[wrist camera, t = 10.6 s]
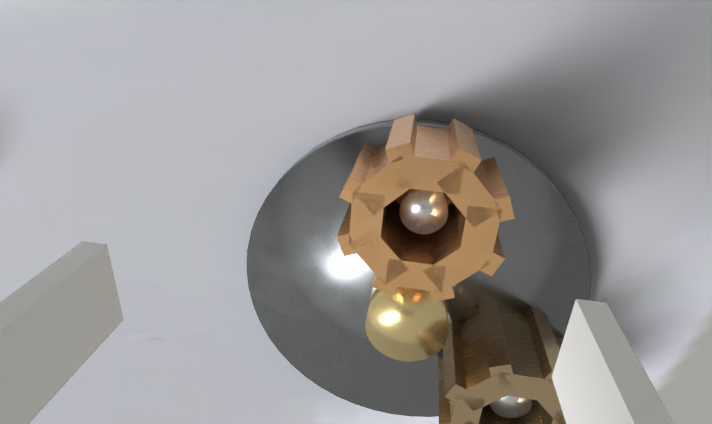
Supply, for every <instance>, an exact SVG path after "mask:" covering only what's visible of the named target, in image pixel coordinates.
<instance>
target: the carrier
mask: <svg viewBox="0 0 712 424" xmlns="http://www.w3.org/2000/svg"><path fill="white" fill-rule="evenodd" d="M393 122H394V121H383V122H379V123H374V124H370V125H365V126H361V127H358V128H355V129H352V130H350V131H347V132H344V133H341V134H339V135H337V136H335V137H333V138H331V139H329V140H327V141H325V142H324V143H322V144H320V145H318V146H317V147H315V148H314V149H313V150H311V151H310V152H308V153H307V154H306V155H304V156H303V157H302V158H300V159H299V160H298V161H297V162H296V163H295V164H294V165H293V166H292V167H291V168H290V169H289V170H288V171H287V172H286V173H285V174H284V176H283V177H282V178H281V179H280V180H279V182H278V183H277V184H276V185H275V187H274V188H273V189H272V191H271V192H270V193H269V195H268V196H267V198H266V199H265V201H264V203H263V205H262V207H261V209H260V210H259V212H258V214H257V217H256V220H255V222H254V225H253V228H252V231H251V235H250V240H249V245H248V250H247V276H248V286H249V290H250V294H251V298H252V302H253V305H254V308H255V310H256V313H257V315H258V318H259V320H260V322H261V324H262V326H263V328H264V329H265V331H266V333H267V335H268V336H269V338H270V339H271V341H272V342H273V343H274V345H275V346H276V347H277V349H278V350H279V351H280V353H281V354H282V355H283V356H284V357H285V358H286V359H287V360H288V361H289V362H290V363H291V364H292V365H293V366H294V367H295V368H296V369H297V370H299V371H300V372H301V373H302V374H303V375H304V376H306V377H307V378H308V379H310V380H311V381H313V382H314V383H316V384H317V385H318V386H320V387H321V388H323V389H325V390H327V391H329V392H330V393H332V394H334V395H336V396H338V397H340V398H342V399H345V400H347V401H349V402H352V403H354V404H357V405H360V406H363V407H366V408H369V409H372V410H377V411H381V412H386V413H390V414H397V415H406V416H424V417H433V416H439V424H566V421H565V418H564V415H563V412H562V408H561V405H560V402H559V399H558V396H557V393H556V389H555V386H554V383H553V380H552V374H553V371H554V367H555V364H556V361H557V358H558V355H559V351H560V348H561V345H562V342H563V339H564V335H565V332H566V329H567V326H568V323H569V319H570V316H571V313H572V310H573V306H574V303H575V300H576V299H581V300H589V293H590V282H591V273H590V260H589V254H588V250H587V246H586V242H585V238H584V235H583V233H582V230H581V228H580V226H579V223H578V221H577V219H576V216H575V215H574V213H573V212H572V210H571V208H570V207H569V205H568V204H567V202H566V201H565V199H564V197H563V196H562V194H561V193H560V191H559V190H558V188H557V187H556V186H555V185H554V184H553V182H552V181H551V180H550V179H549V178H548V177H547V176H546V174H545V173H544V172H543V171H542V170H541V169H540V168H539V167H537V166H536V165H535V164H534V163H533V162H532V161H530V160H529V159H528V158H527V157H526V156H525V155H523V154H522V153H520V152H518V151H517V150H515V149H514V148H512V147H511V146H509V145H508V144H506V143H504V142H502V141H500V140H498V139H496V138H494V137H492V136H489V135H487V134H485V133H483V132H480V131H477V130H474V129H472V131H473V134H474V137H475V140H476V144H477V147H478V150H479V153H480V156H481V159H482V160H485V159H489V158H493V157H494V158H495V160H496V163H497V165H498V168H499V170H500V173H501V175H502V178H503V180H504V183H505V185H506V188H507V190H508V193H509V195H510V199H511V204H512V208H513V213H514V218H515V219H511V220H507V221H502V222H500V223H499V227H498V235H499V239H500V242H501V246H502V249H503V253H504V256H505V260H504V261H503V262H502V264H501V265H500V266H499V268H498V269H497V270H496V271H495V273H494V274H493V275H492V277H491V276H489V275H488V274H486V273H484V272H482V271H480V270H479V271H477V272H476V273H474V274H472V275H471V276H469V277H467V278H466V279H464V280H462V281H461V282H459V283H457V284H456V285H454V290H455V298H451V299H446V300H441V301H435V302H433V301H432V298H431V295H430V292H429V291H426V290H419V289H412V288H405V287H398V286H397V288H396V289H395V291H394V292H393V294H392V295H391V296H390V295H388V294H386V293H384V292H382V291H380V290H378V289H376V288H375V287H373V286H371V285H372V280H373V276H374V272H373V271H372V270H371V269H370V268H369V266H368V265H367V264H366V263H365V262H364V261H363V260H362V259H361V258H360V257H359V256H358V254H353V255H348V256H344V255H343V252H342V250H341V247H340V244H339V242H338V239H337V234H338V232H339V229H340V227H341V224H342V222H343V219H344V217H345V214H346V212H347V209H348V207H349V204H350V203H349V202H348V201H346V200H344V199H342V198H340V197H339V196H340V194H341V192H342V189H343V187H344V185H345V183H346V181H347V179H348V177H349V175H350V172H351V170H352V168H353V166H354V164H355V162H356V160H357V158H358V156H359V154H360V152H361V150H362V148H363V146H364V145H365V143H366V144H368V145H370V146H372V147H374V148H377V147H378V146H380V145H381V144H382V143H383V142H385V141H386V140H387V139H388V138H389V135H390V132H391V129H392V126H393ZM416 122H417V125H418V126H427V127H437V128H446V129H447V127H448V126H449V124H450V123H446V122H440V121H435V120H416ZM395 200H396V201H397V202H398V203H399V204H400V218H401V221H402V222H403V224H404V225H405V226H406V227H407V228H408V229H409V230H411V231H412V232H415V233H418V234H430V233H433V232H436V231H437V230H439V229H440V228H441V227H442V226H443V225H444V224H445V222H446V220H447V217H448V206H449V205H450V204H452V203H453V202H452V201H451V199H450V198H449V197H448V196H447V194H446V193H443V192H434V191H426V190H418V189H409V190H408V191H406V192H405V193H403V194H402V195H401V196H399V197H398V198H397V199H395Z"/></svg>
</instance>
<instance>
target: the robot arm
mask: <svg viewBox="0 0 712 424" xmlns="http://www.w3.org/2000/svg"><path fill="white" fill-rule="evenodd" d="M122 321H123V316H122V311H121V307H120V302H119V298H118V293H117V288H116V284H115V279H114V275H113V270H112V266H111V261H110V257H109V252H108V248H107V244H99V243H90V242H81V243H80V244H78V245H77V246H76V247H74V248H73V249H72V250H70V251H69V252H68V253H66V254H65V255H64V256H62V257H61V258H60V259H58V260H57V261H56V262H54V263H53V264H51V265H50V266H49V267H47V268H46V269H45V270H43V271H42V272H41V273H39V274H38V275H37V276H35V277H34V278H33V279H31V280H30V281H29V282H27V283H26V284H25V285H23V286H22V287H20V288H19V289H18V290H16V291H15V292H14V293H12V294H11V295H10V296H8V297H7V298H6V299H4V300H3V301H2V302H0V424H29V423H30V422H31V421H32V420H33V419H34V417H35V416H36V415H37V414H38V413H39V412H40V411H41V410H42V409H43V408H44V406H45V405H46V404H47V403H48V402H49V401H50V400H51V399H52V398H53V397H54V396H55V394H56V393H57V392H58V391H59V390H60V389H61V388H62V387H63V386H64V385H65V383H66V382H67V381H68V380H69V379H70V378H71V377H72V376H73V375H74V374H75V372H76V371H77V370H78V369H79V368H80V367H81V366H82V365H83V364H84V363H85V361H86V360H87V359H88V358H89V357H90V356H91V355H92V354H93V353H94V352H95V350H96V349H97V348H98V347H99V346H100V345H101V344H102V343H103V342H104V341H105V339H106V338H107V337H108V336H109V335H110V334H111V333H112V332H113V331H114V330H115V328H116V327H117V326H118V325H119V324H120V323H121V322H122ZM552 380H553V383H554V386H555V389H556V393H557V396H558V399H559V402H560V405H561V408H562V412H563V415H564V418H565V421H566V424H674V422H673V420H672V418H671V416H670V415H669V413H668V411H667V409H666V408H665V406H664V404H663V402H662V400H661V399H660V397H659V395H658V393H657V392H656V390H655V388H654V386H653V384H652V383H651V381H650V379H649V377H648V375H647V374H646V372H645V370H644V368H643V367H642V365H641V363H640V361H639V359H638V358H637V356H636V354H635V352H634V351H633V349H632V347H631V345H630V343H629V342H628V340H627V338H626V336H625V335H624V333H623V331H622V329H621V327H620V326H619V324H618V322H617V320H616V318H615V317H614V315H613V313H612V311H611V310H610V308H609V306H608V304H607V302H598V301H590V300H581V299H576V300H575V303H574V306H573V310H572V313H571V316H570V319H569V323H568V326H567V329H566V332H565V335H564V339H563V342H562V345H561V348H560V351H559V355H558V358H557V361H556V364H555V367H554V371H553V374H552Z"/></svg>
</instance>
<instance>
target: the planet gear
mask: <svg viewBox="0 0 712 424" xmlns="http://www.w3.org/2000/svg"><path fill="white" fill-rule="evenodd" d="M409 189H418V190H426V191H434V192H443V193H446V194H447V196H448V197H449V198H450V199H451V201H452V202H453V203H452V204H450V205H449V206H448V217H447V220H446V222H445V224H444V225H443V226H442V227H441V228H440V229H439V230H437V231H436V232H433V233H430V234H418V233H415V232H412V231H411V230H409V229H408V228H407V227H406V226H405V225H404V224H403V222H402V221H401V218H400V204H399V203H398V202H397V201H396V200H395V199H397V198H398V197H399V196H401V195H402V194H403V193H405V192H406V191H408V190H409ZM339 197H340V198H342V199H344V200H346V201H348V202H349V203H350V204H349V207H348V209H347V212H346V214H345V217H344V219H343V222H342V224H341V227H340V229H339V232H338V234H337V239H338V242H339V244H340V247H341V250H342V252H343V255H344V256H348V255H353V254H358V256H359V257H360V258H361V259H362V260H363V261H364V262H365V263H366V264H367V265H368V266H369V268H370V269H371V270H372V271H373V272H374V276H373V280H372V285H371V286H373V287H375V288H376V289H378V290H380V291H382V292H384V293H386V294H388V295H390V296H391V295H392V294H393V292H394V291H395V289H396V288H397V286H398V287H405V288H412V289H419V290H426V291H429V292H430V295H431V298H432V301H433V302H435V301H441V300H446V299H451V298H455V290H454V285H456V284H457V283H459V282H461V281H462V280H464V279H466V278H467V277H469V276H471V275H472V274H474V273H476V272H477V271H479V270H480V271H482V272H484V273H486V274H488V275H489V276H491V277H492V275H493V274H494V273H495V271H496V270H497V269H498V268H499V266H500V265H501V264H502V262H503V261H504V260H505V256H504V253H503V249H502V246H501V242H500V239H499V235H498V227H499V223H500V222H502V221H507V220H511V219H515V218H514V213H513V208H512V204H511V199H510V195H509V193H508V190H507V188H506V185H505V183H504V180H503V178H502V175H501V173H500V170H499V168H498V165H497V163H496V160H495V158H494V157H493V158H489V159H485V160H482V159H481V156H480V153H479V150H478V147H477V144H476V140H475V137H474V134H473V131H472V128H471V127H469V126H467V125H465V124H464V123H462V122H460V121H458V120H456V119H454V118H453V119H452V121H451V122H450V124H449V126H448V127H447V129H446V128H437V127H427V126H418V125H417V122H416V118H415V114H412V115H409V116H405V117H402V118H398V119H395V120H394V122H393V126H392V129H391V132H390V135H389V138H388V139H387V140H386V141H385V142H383V143H382V144H381V145H380V146H378V147H377V148H374V147H372V146H370V145H368V144H366V143H365V145H364V146H363V148H362V150H361V152H360V154H359V156H358V158H357V160H356V162H355V164H354V166H353V168H352V170H351V172H350V175H349V177H348V179H347V181H346V183H345V185H344V187H343V189H342V192H341V194H340V196H339Z"/></svg>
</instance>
